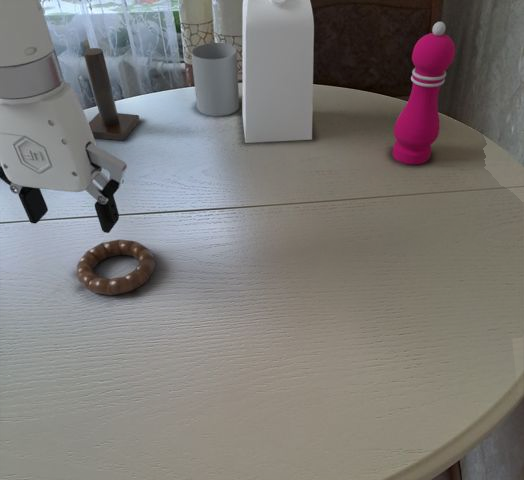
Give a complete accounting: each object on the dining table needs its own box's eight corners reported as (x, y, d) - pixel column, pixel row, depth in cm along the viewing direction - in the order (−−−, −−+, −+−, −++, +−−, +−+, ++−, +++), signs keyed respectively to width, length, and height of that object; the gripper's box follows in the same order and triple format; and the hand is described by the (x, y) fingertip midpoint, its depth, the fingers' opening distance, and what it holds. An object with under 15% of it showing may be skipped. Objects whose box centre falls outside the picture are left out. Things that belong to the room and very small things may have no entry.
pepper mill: (380, 156, 86) (404, 22, 71) (405, 141, 89) (432, 10, 74) (416, 171, 82) (449, 34, 67) (440, 155, 86) (476, 21, 70)
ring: (66, 291, 65) (61, 279, 63) (99, 244, 71) (95, 232, 70) (138, 302, 63) (134, 291, 62) (165, 253, 69) (163, 242, 68)
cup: (191, 113, 97) (184, 57, 90) (204, 95, 103) (199, 41, 95) (233, 117, 96) (229, 61, 89) (244, 99, 101) (241, 44, 94)
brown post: (83, 136, 92) (59, 58, 82) (101, 117, 97) (82, 41, 87) (123, 141, 91) (104, 62, 81) (140, 121, 96) (124, 44, 86)
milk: (303, 110, 97) (311, -59, 78) (311, 139, 90) (323, -40, 70) (242, 114, 97) (234, -56, 77) (245, 142, 90) (237, -37, 70)
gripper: (-80, 83, 48) (-4, 231, 61) (84, 95, 45) (127, 248, 58) (-33, 54, 53) (28, 197, 66) (118, 64, 50) (151, 212, 63)
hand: (75, 221), depth 62 cm, fingers open, 9 cm apart
